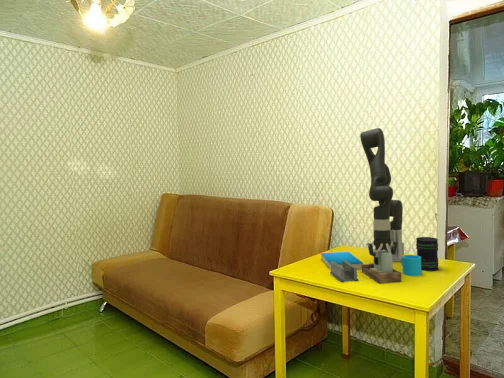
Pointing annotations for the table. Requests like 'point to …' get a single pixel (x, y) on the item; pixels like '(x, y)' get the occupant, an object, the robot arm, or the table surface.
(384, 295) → the table surface
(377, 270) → the birch offcut
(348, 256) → the book
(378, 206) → the robot arm
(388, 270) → the blue-grey panel
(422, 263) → the storage jar
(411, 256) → the mug
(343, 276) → the charcoal stand
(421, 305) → the table surface
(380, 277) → the brown wooden tray
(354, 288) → the table surface
